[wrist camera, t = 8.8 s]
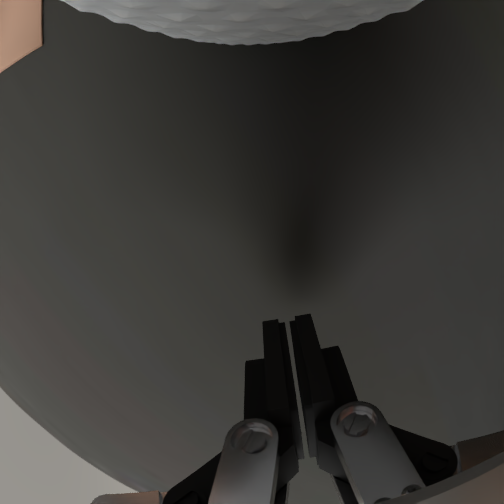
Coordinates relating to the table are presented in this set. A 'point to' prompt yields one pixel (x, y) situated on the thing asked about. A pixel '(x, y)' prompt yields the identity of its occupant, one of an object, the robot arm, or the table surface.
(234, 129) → the table surface
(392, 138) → the table surface
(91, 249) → the table surface
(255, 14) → the mug
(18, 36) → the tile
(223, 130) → the table surface
